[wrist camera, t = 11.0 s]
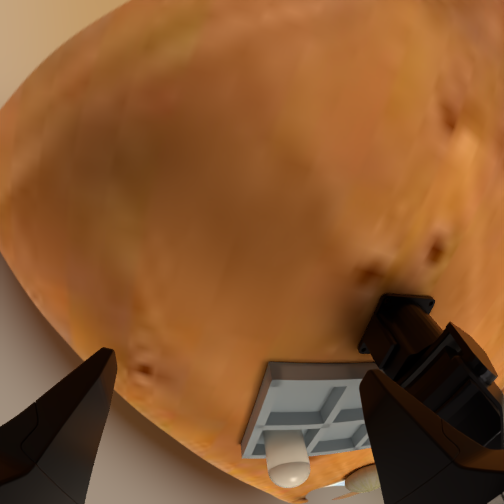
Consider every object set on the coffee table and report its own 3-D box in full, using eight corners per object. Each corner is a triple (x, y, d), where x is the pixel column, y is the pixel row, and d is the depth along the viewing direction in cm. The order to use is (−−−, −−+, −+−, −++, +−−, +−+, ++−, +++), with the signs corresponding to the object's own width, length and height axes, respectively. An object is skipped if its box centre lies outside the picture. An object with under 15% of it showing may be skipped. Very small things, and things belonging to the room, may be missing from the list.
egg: (306, 421, 29) (320, 477, 22) (295, 439, 31) (305, 490, 24) (267, 422, 29) (276, 481, 22) (259, 440, 31) (266, 494, 23)
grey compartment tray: (451, 355, 28) (459, 367, 26) (394, 430, 35) (398, 441, 33) (268, 361, 25) (272, 379, 23) (240, 444, 31) (241, 458, 29)
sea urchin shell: (355, 489, 43) (353, 508, 36) (340, 465, 46) (337, 483, 39) (394, 472, 41) (397, 490, 34) (380, 447, 44) (382, 463, 37)
